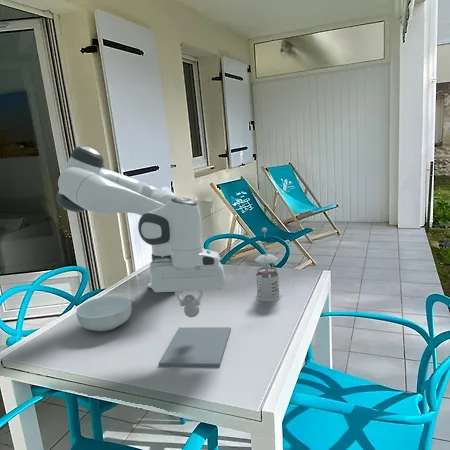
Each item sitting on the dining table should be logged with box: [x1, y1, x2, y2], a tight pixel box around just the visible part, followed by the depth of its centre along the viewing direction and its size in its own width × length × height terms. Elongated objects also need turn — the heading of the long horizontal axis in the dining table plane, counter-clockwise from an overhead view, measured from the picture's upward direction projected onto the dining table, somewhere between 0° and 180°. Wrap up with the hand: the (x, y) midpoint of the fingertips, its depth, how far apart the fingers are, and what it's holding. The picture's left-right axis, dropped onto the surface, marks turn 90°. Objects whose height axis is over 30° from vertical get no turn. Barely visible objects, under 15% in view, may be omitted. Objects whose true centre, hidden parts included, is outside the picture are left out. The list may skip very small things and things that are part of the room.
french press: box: [254, 227, 283, 302], centre depth 143 cm, size 10×12×25 cm
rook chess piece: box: [183, 294, 200, 318], centre depth 114 cm, size 4×4×8 cm
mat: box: [158, 326, 232, 368], centre depth 113 cm, size 20×16×1 cm
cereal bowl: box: [75, 295, 133, 332], centre depth 130 cm, size 17×17×7 cm
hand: (190, 305), depth 114 cm, fingers closed on rook chess piece, 3 cm apart
